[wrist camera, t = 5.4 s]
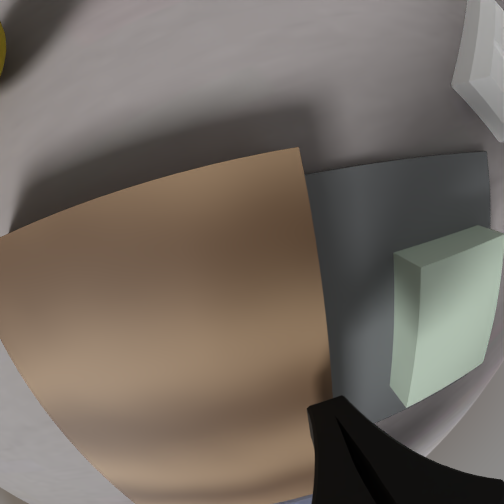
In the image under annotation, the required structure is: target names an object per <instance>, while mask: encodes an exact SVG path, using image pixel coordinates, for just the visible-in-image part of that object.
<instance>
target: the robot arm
mask: <svg viewBox="0 0 504 504" xmlns="http://www.w3.org/2000/svg"><path fill="white" fill-rule="evenodd" d="M307 415H308V422H309V429H310V435H311V439H312V442H313V446H314V452H315V468H314V487H313V494H311V495H307V496H303V497H300V498H296V499H292V500H288V501H283V502H279V503H274V504H504V482H503V480H501V479H494V478H487V477H482V476H477V475H473V474H469V473H465V472H461V471H458V470H455V469H453V468H450V467H447V466H444V465H441V464H439V463H437V462H434V461H432V460H430V459H428V458H426V457H424V456H422V455H420V454H418V453H416V452H414V451H413V450H411V449H409V448H407V447H406V446H404V445H403V444H401V443H400V442H398V441H397V440H395V439H394V438H392V437H391V436H389V435H388V434H387V433H385V432H384V431H383V430H381V429H380V428H379V427H377V426H376V425H375V424H374V423H372V422H371V421H370V420H369V419H368V418H367V417H365V416H364V415H363V414H362V413H361V412H360V411H359V410H358V409H357V408H356V407H355V406H354V405H353V404H352V403H351V402H350V401H349V400H348V399H347V398H346V397H345V396H343V395H341V396H338V397H335V398H332V399H329V400H326V401H323V402H320V403H317V404H313V405H310V406H309V407H308V408H307Z"/></svg>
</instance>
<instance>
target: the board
mask: <svg viewBox="0 0 504 504" xmlns="http://www.w3.org/2000/svg"><path fill="white" fill-rule="evenodd" d="M0 339H1V341H2V343H3V345H4V347H5V348H6V350H7V352H8V354H9V356H10V357H11V359H12V361H13V363H14V364H15V366H16V368H17V369H18V371H19V373H20V374H21V376H22V377H23V379H24V381H25V382H26V384H27V385H28V387H29V388H30V390H31V391H32V393H33V394H34V396H35V397H36V398H37V400H38V401H39V403H40V404H41V405H42V407H43V408H44V409H45V411H46V412H47V413H48V415H49V416H50V417H51V419H52V420H53V421H54V423H55V424H56V425H57V426H58V427H59V429H60V430H61V431H62V432H63V434H64V435H65V436H66V437H67V438H68V439H69V441H70V442H71V443H72V444H73V445H74V446H75V447H76V448H77V450H78V451H79V452H80V453H81V454H82V455H83V456H84V457H85V458H86V459H87V460H88V461H89V462H90V463H91V464H92V465H93V466H94V467H95V468H96V469H97V470H98V471H99V472H100V473H101V474H102V475H103V476H104V477H105V478H106V479H107V480H108V481H109V482H111V483H112V484H113V485H114V486H115V487H116V488H117V489H118V490H120V491H121V492H122V493H123V494H124V495H125V496H127V497H128V498H129V499H130V500H131V501H133V502H134V503H135V504H274V503H279V502H283V501H288V500H292V499H296V498H300V497H303V496H307V495H311V494H313V487H314V468H315V452H314V446H313V442H312V439H311V435H310V429H309V422H308V415H307V408H308V407H309V406H310V405H313V404H317V403H320V402H323V401H326V400H329V399H332V398H333V392H332V378H331V365H330V353H329V342H328V332H327V323H326V314H325V305H324V297H323V289H322V281H321V273H320V266H319V259H318V252H317V246H316V239H315V233H314V226H313V220H312V214H311V208H310V203H309V197H308V192H307V186H306V181H305V176H304V170H303V165H302V160H301V155H300V151H299V147H295V148H289V149H284V150H278V151H273V152H267V153H262V154H257V155H252V156H248V157H243V158H238V159H234V160H229V161H225V162H220V163H216V164H212V165H208V166H204V167H200V168H196V169H192V170H188V171H184V172H180V173H177V174H173V175H169V176H166V177H162V178H159V179H155V180H152V181H148V182H145V183H142V184H139V185H135V186H132V187H129V188H126V189H123V190H119V191H116V192H113V193H110V194H107V195H104V196H102V197H99V198H96V199H93V200H90V201H87V202H85V203H82V204H79V205H76V206H74V207H71V208H68V209H66V210H63V211H61V212H58V213H55V214H53V215H50V216H48V217H45V218H43V219H41V220H38V221H36V222H33V223H31V224H29V225H26V226H24V227H22V228H20V229H17V230H15V231H13V232H11V233H9V234H6V235H4V236H2V237H0Z"/></svg>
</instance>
